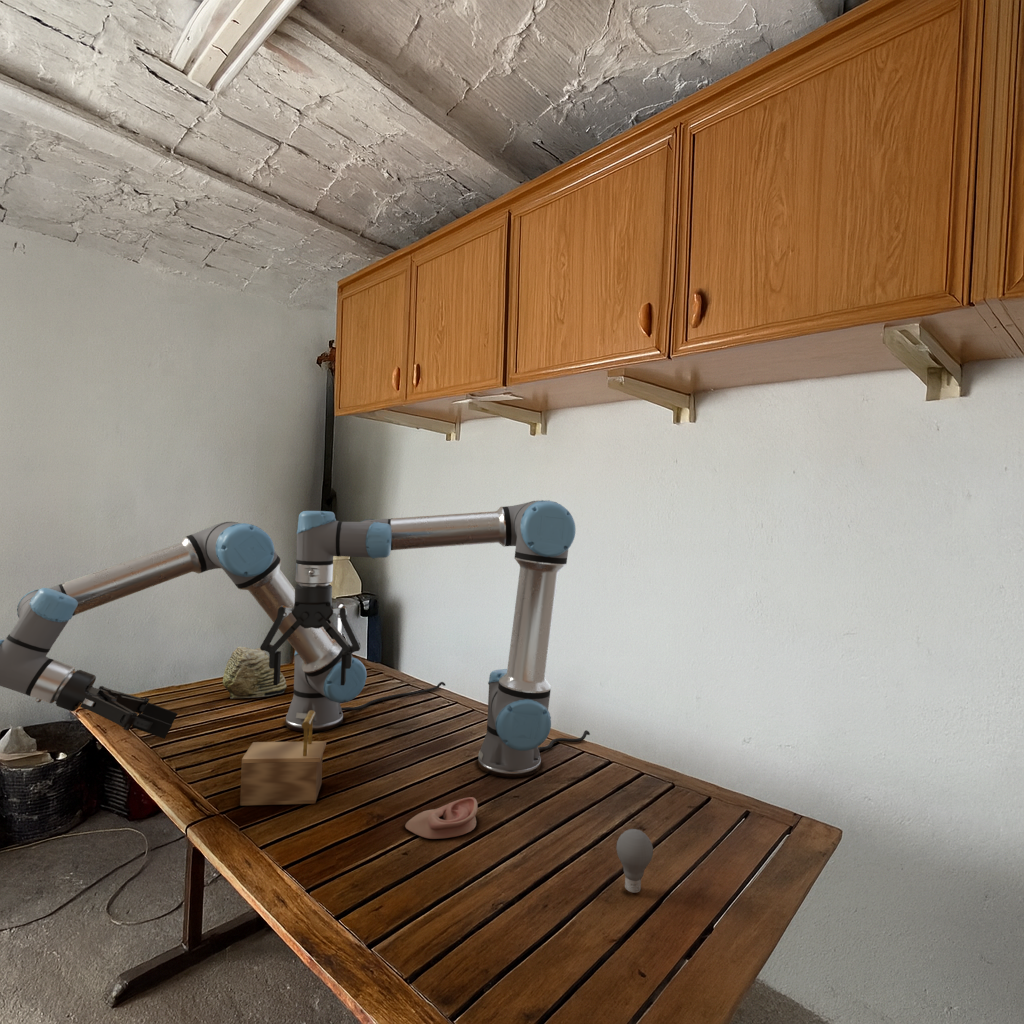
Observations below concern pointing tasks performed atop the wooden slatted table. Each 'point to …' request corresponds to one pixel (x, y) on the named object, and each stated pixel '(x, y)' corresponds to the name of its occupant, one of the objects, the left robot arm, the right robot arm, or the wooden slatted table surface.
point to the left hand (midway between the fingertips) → (171, 725)
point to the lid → (288, 748)
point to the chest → (280, 783)
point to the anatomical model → (445, 820)
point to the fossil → (251, 675)
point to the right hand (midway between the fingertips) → (310, 683)
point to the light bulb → (634, 857)
